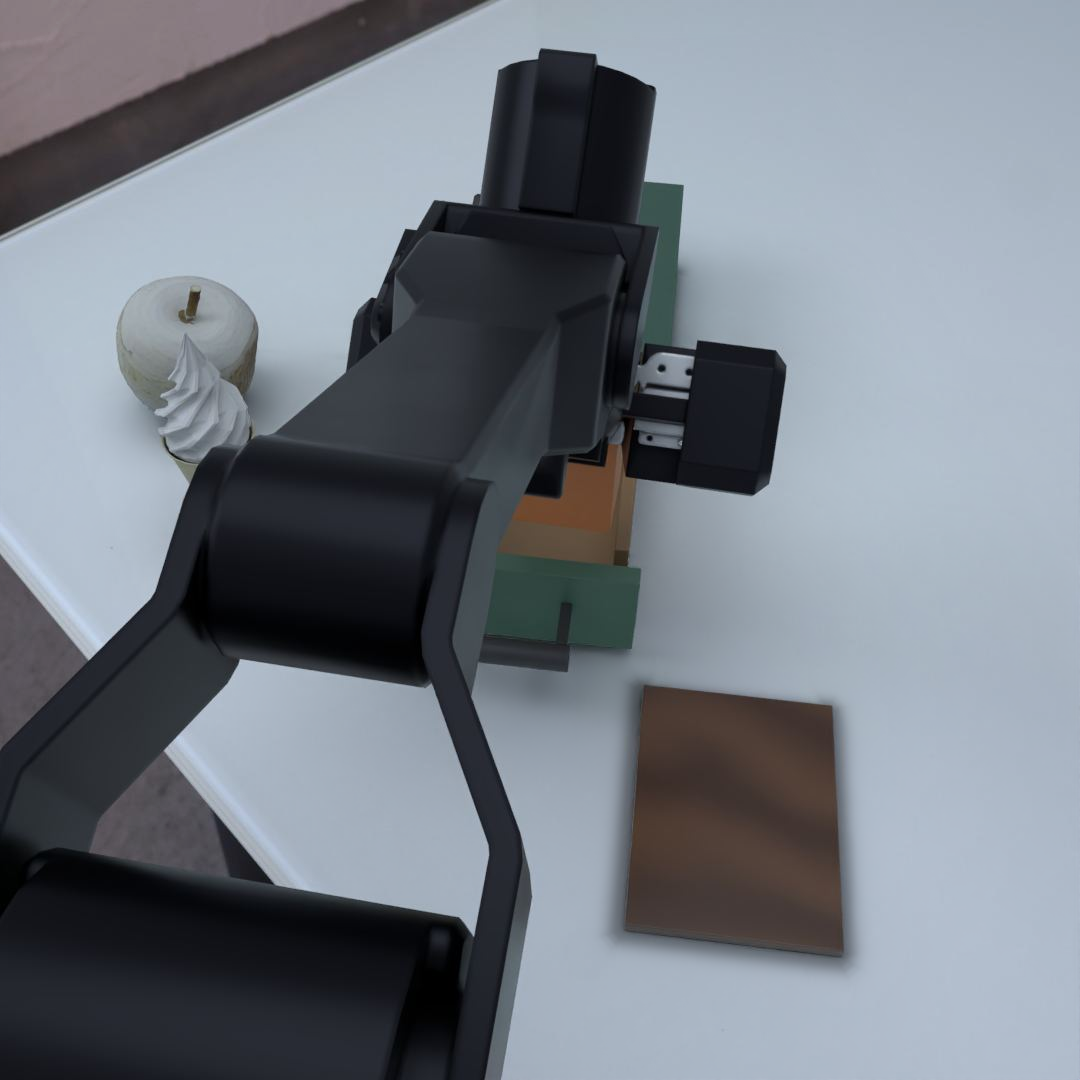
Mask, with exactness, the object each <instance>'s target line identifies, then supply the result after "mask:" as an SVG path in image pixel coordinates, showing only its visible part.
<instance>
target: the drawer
mask: <svg viewBox="0 0 1080 1080" xmlns="http://www.w3.org/2000/svg"><path fill="white" fill-rule="evenodd" d="M638 365H640V363H638ZM637 480H638V479H636V478H629V477H625V471H624V464H623V456H622V465H621V475H620V483H619V488H618V493H617V498H616V503H615V508H614V513H613V518H612V523H611V528H610V532H609V533H603V532H597V531H590V530H583V529H576V528H569V527H562V526H556V525H549V524H542V523H535V522H528V521H522V520H515V519H511V521H510V523H509V526H508V528H507V530H506V532H505V534H504V536H503V538H502V540H501V542H500V544H499V546H498V549H497V555H496V563H495V572H494V580H493V586H492V592H491V598H490V604H489V609H488V615H487V620H486V625H485V630H484V635H483V640H482V645H481V650H480V655H479V660H478V664H489V665H498V666H505V667H507V666H508V667H515V668H522V669H523V668H524V669H534V670H542V671H551V672H560V673H568V672H569V667H570V657H571V645H570V644H575V645H585V646H586V645H587V646H595V647H603V648H605V647H606V648H613V649H623V650H633V645H634V637H635V628H636V622H637V621H636V620H637V612H638V611H637V610H638V604H639V598H640V597H639V596H640V595H639V594H640V588H641V580H642V579H641V578H642V568H641V567H635V566H629V559H630V550H631V539H632V532H633V520H634V511H635V510H634V509H635V499H636V489H637ZM485 634H487V635H485ZM491 635H492V636H491ZM493 635H494V636H493ZM500 636H503V637H500ZM505 636H506V637H505ZM511 637H514V638H511ZM518 638H519V639H518ZM529 639H531V640H529ZM537 640H541V641H537ZM547 641H548V642H547ZM549 641H550V642H549Z"/></svg>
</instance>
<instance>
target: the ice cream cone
mask: <svg viewBox="0 0 1080 1080" xmlns="http://www.w3.org/2000/svg"><path fill="white" fill-rule="evenodd" d="M174 369H175V370H174V371H173V373H172V374H171V375H170V376H169V378H168V380H169V381H175V382H176V383H177V385H176V387H175V388H174V389H172V390H170V391H168V392H166V393H163V394H161V397H160V398H164V399H166V400H167V401H168V406H166V407H165V408H161V409H156V411H155V412H154V415H155V416H156V417H161V418H165V417H166V418H165V419H167V422H166V424H165V426H162V427H158V428H157V429H158V430H157V433H158V434H159V435H160V443H161V444H160V445H161V446H162V449H163V450H164V452H165V453H166V454H167V455H168V456H169V457H170V458H171V459H172V460H173V461H174V463H175V465H176V466H177V467H178V469H179V471H180V472H181V473H182V475H183V476H184V478H185V479H186V481H187V483H188V484H189V485H190V482H191V480H192V477H193V475H194V473H195V470H196V468H197V466H198V465H199V463H200V462H201V461H202V460H203V458H204V457H205V456H206V454H207V453H208V452H209V451H210V449H211V448H212V447H216V446H219V445H223V444H232V445H239V446H244V445H245V444H246V443H247V442H248V441H250V440H251V439H253V438H254V437H255V432H256V427H255V424H254V421H253V419H252V418H251V417H250V415H249V412H248V409H249V407H248V405H247V403H246V401H245V400H244V397H242V396H241V394H240V392H239V390H238V388H237V387H236V386H235V385H233V384H231V383H229V382H227V381H225V380H223V379H221V378H220V372H219V371H218V370H217V369H216V368H215V367H214V365H213V363H212V362H210V361H209V360H207V359H206V357H205V356H204V355H203V354H202V353H201V351H200V350H199V349H198V348H197V346H196V345H195V344H194V343H193V342H192V340H191V339H190V338H189V337H188V335H187V333H185V334H184V337H183V342H182V345H181V348H180V352H179V355H178V358H177V362H176V364H175V367H174Z"/></svg>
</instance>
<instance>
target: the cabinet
mask: <svg viewBox="0 0 1080 1080" xmlns="http://www.w3.org/2000/svg"><path fill="white" fill-rule="evenodd" d="M684 189H685V186H684V184H679V183H666V182H655V181H645V180H644V185H643V192H642V199H641V206H640V223H639V224H641V225H649V226H657V227H660V228H659V238H658V245H657V252H656V259H655V266H654V273H653V280H652V287H651V293H650V299H649V305H648V311H647V316H646V322H645V328H644V333H643V339H642V345H641V350H640V356H639V362H638V363H640V362H641V357H642V353H643V349H644V345H645V343H649V344H657V345H665V346H672V343H673V341H672V340H673V329H674V315H675V306H676V305H675V303H676V290H677V289H676V288H677V277H678V265H679V253H680V239H681V228H682V217H683V204H684V203H683V202H684Z"/></svg>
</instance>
